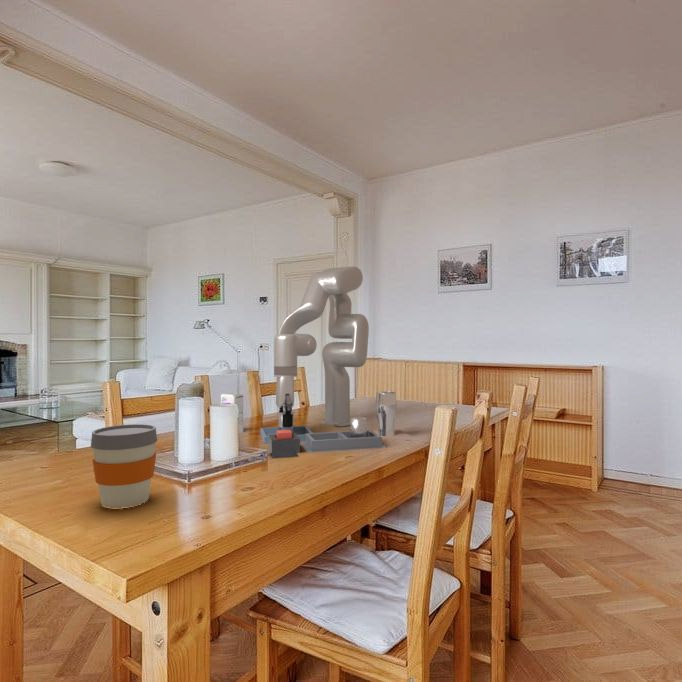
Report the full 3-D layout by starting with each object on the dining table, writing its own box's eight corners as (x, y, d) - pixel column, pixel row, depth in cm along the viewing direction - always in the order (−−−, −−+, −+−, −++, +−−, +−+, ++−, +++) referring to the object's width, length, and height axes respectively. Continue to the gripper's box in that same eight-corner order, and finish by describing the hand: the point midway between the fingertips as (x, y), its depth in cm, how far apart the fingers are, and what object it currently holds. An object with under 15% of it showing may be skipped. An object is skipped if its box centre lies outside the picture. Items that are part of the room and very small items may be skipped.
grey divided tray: (300, 446, 150) (300, 433, 150) (374, 441, 156) (374, 429, 156) (307, 456, 138) (307, 442, 137) (387, 450, 143) (387, 437, 143)
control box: (269, 451, 143) (268, 434, 143) (295, 449, 145) (295, 433, 145) (271, 458, 136) (271, 440, 136) (300, 456, 138) (300, 438, 137)
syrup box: (220, 437, 165) (219, 394, 164) (230, 433, 170) (229, 392, 170) (234, 438, 162) (233, 395, 162) (244, 434, 168) (243, 393, 168)
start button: (276, 440, 142) (276, 430, 142) (290, 439, 143) (290, 429, 143) (278, 443, 138) (277, 433, 138) (292, 442, 139) (291, 432, 139)
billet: (277, 436, 160) (277, 412, 160) (292, 435, 162) (292, 411, 162) (279, 439, 156) (279, 414, 155) (295, 438, 157) (294, 413, 157)
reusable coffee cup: (89, 516, 92) (88, 438, 92) (93, 496, 104) (92, 426, 104) (159, 507, 97) (158, 432, 97) (156, 489, 109) (155, 422, 109)
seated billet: (348, 442, 150) (348, 417, 150) (364, 441, 151) (364, 416, 151) (353, 446, 145) (352, 419, 145) (369, 445, 146) (368, 418, 146)
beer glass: (396, 435, 166) (396, 391, 166) (396, 439, 159) (396, 393, 159) (376, 434, 166) (375, 391, 166) (375, 439, 160) (375, 393, 159)
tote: (260, 436, 164) (260, 428, 164) (305, 434, 168) (305, 425, 168) (264, 447, 149) (264, 437, 149) (314, 444, 153) (314, 434, 153)
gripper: (271, 370, 166) (271, 420, 166) (277, 373, 149) (277, 429, 149) (293, 370, 168) (293, 419, 168) (301, 373, 151) (301, 428, 151)
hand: (285, 424), depth 158 cm, fingers open, 9 cm apart
